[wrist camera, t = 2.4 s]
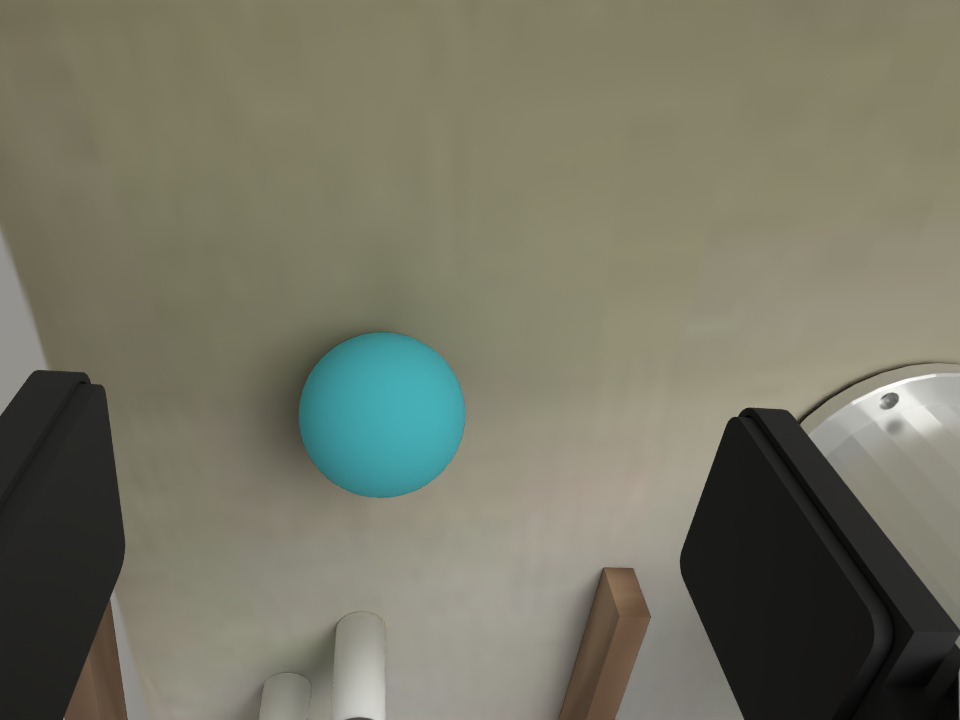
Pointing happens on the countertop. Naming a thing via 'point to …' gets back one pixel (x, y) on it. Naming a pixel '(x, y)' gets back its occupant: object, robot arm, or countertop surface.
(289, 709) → the pin
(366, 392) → the ball
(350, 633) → the pin
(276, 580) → the countertop surface
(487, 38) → the countertop surface
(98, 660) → the wooden u-shaped frame
